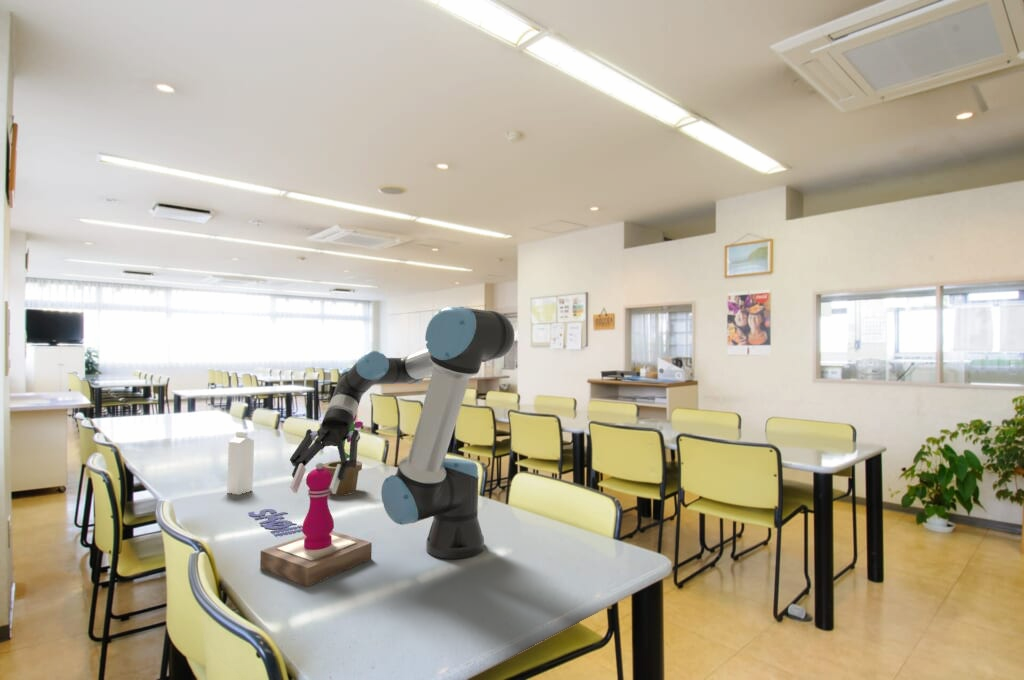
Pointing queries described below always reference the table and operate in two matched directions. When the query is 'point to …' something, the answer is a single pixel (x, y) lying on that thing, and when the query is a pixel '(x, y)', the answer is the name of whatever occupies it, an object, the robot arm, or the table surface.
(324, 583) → the table surface
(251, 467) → the milk
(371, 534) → the table surface
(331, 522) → the pepper mill
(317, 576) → the walnut stand
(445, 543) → the robot arm
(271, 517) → the signage
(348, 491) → the flowerpot
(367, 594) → the table surface
